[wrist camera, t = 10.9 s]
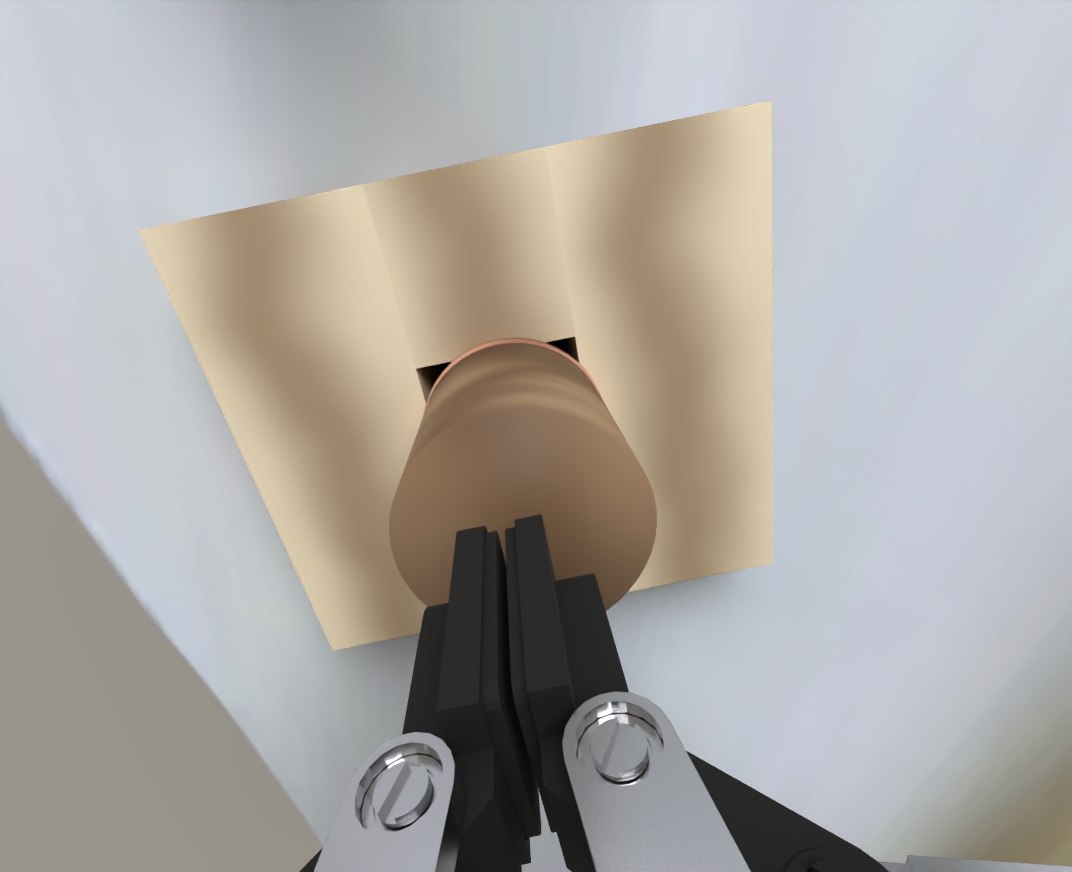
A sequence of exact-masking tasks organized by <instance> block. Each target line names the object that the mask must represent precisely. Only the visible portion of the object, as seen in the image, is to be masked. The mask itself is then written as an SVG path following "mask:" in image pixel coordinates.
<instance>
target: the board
mask: <svg viewBox="0 0 1072 872" xmlns="http://www.w3.org/2000/svg"><path fill="white" fill-rule="evenodd" d="M138 231H139V233H140V235H141V237H142V239H143V242H144V244H145V246H146V248H147V250H148V252H149V255H150V257H151V259H152V261H153V263H154V265H155V267H156V270H157V272H158V274H159V276H160V278H161V280H162V283H163V285H164V287H165V289H166V291H167V293H168V296H169V298H170V300H171V302H172V304H173V306H174V309H175V311H176V313H177V315H178V317H179V319H180V321H181V324H182V326H183V328H184V330H185V332H186V334H187V337H188V339H189V341H190V343H191V345H192V347H193V350H194V352H195V354H196V356H197V358H198V360H199V362H200V365H201V367H202V369H203V371H204V373H205V375H206V378H207V380H208V382H209V384H210V386H211V388H212V391H213V393H214V395H215V397H216V399H217V401H218V404H219V406H220V408H221V410H222V412H223V414H224V416H225V419H226V421H227V423H228V425H229V427H230V429H231V432H232V434H233V436H234V438H235V440H236V442H237V445H238V447H239V449H240V451H241V453H242V455H243V458H244V460H245V462H246V464H247V466H248V468H249V470H250V473H251V475H252V477H253V479H254V481H255V483H256V486H257V488H258V490H259V492H260V494H261V496H262V499H263V501H264V503H265V505H266V507H267V509H268V512H269V514H270V516H271V518H272V520H273V522H274V524H275V527H276V529H277V531H278V533H279V535H280V537H281V540H282V542H283V544H284V546H285V548H286V550H287V553H288V555H289V557H290V559H291V561H292V563H293V565H294V568H295V570H296V572H297V574H298V576H299V578H300V581H301V583H302V585H303V587H304V589H305V591H306V594H307V596H308V598H309V600H310V602H311V604H312V607H313V609H314V611H315V613H316V615H317V617H318V619H319V622H320V624H321V626H322V628H323V630H324V632H325V635H326V637H327V639H328V641H329V643H330V645H331V648H332V650H338V649H343V648H348V647H353V646H358V645H363V644H368V643H373V642H378V641H383V640H388V639H394V638H399V637H404V636H409V635H414V634H419V633H420V630H421V625H422V619H423V614H424V611H425V609H426V608H427V606H426V605H425V604H424V603H423V602H421V601H420V600H419V599H418V598H417V597H416V595H415V594H414V593H413V592H412V591H411V590H410V588H409V587H408V585H407V584H406V582H405V581H404V579H403V578H402V576H401V574H400V572H399V570H398V568H397V566H396V563H395V561H394V557H393V554H392V550H391V546H390V538H389V517H390V512H391V507H392V501H393V499H394V496H395V493H396V490H397V488H398V485H399V482H400V479H401V477H402V474H403V471H404V468H405V465H406V463H407V460H408V457H409V454H410V452H411V449H412V446H413V443H414V441H415V438H416V435H417V432H418V430H419V427H420V424H421V421H422V418H423V415H424V410H425V405H426V403H427V400H428V397H429V395H430V392H431V389H432V388H433V386H434V384H435V382H436V380H437V379H438V376H437V372H436V368H435V365H436V364H441V363H446V362H451V361H453V360H455V359H456V358H457V357H458V356H460V355H461V354H462V353H464V352H466V351H468V350H469V349H471V348H473V347H475V346H478V345H480V344H482V343H485V342H489V341H493V340H497V339H504V338H527V339H534V340H538V341H542V342H550V341H555V340H560V339H565V338H566V343H567V349H568V354H569V355H570V356H572V357H573V358H574V359H576V360H577V361H578V362H579V363H580V364H581V365H582V366H583V367H584V368H585V370H586V371H587V372H588V374H589V375H590V376H591V378H592V379H593V381H594V383H595V385H596V386H597V388H598V390H599V392H600V394H601V397H602V400H603V401H604V403H605V405H606V406H607V408H608V410H609V412H610V413H611V415H612V417H613V418H614V420H615V422H616V424H617V425H618V427H619V429H620V430H621V432H622V434H623V436H624V437H625V439H626V441H627V443H628V444H629V446H630V448H631V449H632V451H633V453H634V455H635V456H636V458H637V460H638V461H639V463H640V465H641V467H642V468H643V470H644V472H645V474H646V476H647V478H648V480H649V482H650V485H651V488H652V491H653V493H654V498H655V503H656V509H657V529H656V537H655V542H654V545H653V549H652V553H651V555H650V557H649V560H648V562H647V564H646V566H645V568H644V570H643V571H642V573H641V575H640V576H639V578H638V580H637V581H636V582H635V583H634V585H633V586H632V587H631V588H630V590H629V591H628V592H631V591H636V590H641V589H646V588H651V587H656V586H661V585H666V584H671V583H676V582H681V581H686V580H691V579H696V578H701V577H706V576H711V575H716V574H721V573H726V572H731V571H736V570H742V569H747V568H752V567H757V566H762V565H767V564H772V563H773V379H772V100H771V101H766V102H761V103H756V104H751V105H746V106H741V107H737V108H732V109H727V110H722V111H717V112H712V113H707V114H702V115H698V116H693V117H688V118H683V119H678V120H673V121H668V122H663V123H659V124H654V125H649V126H644V127H639V128H634V129H629V130H624V131H620V132H615V133H610V134H605V135H600V136H595V137H590V138H585V139H580V140H576V141H571V142H566V143H561V144H556V145H551V146H546V147H541V148H537V149H532V150H527V151H522V152H517V153H512V154H507V155H502V156H498V157H493V158H488V159H483V160H478V161H473V162H468V163H463V164H459V165H454V166H449V167H444V168H439V169H434V170H429V171H424V172H420V173H415V174H410V175H405V176H400V177H395V178H390V179H385V180H381V181H376V182H371V183H366V184H361V185H356V186H351V187H346V188H342V189H337V190H332V191H327V192H322V193H317V194H312V195H307V196H303V197H298V198H293V199H288V200H283V201H278V202H273V203H268V204H264V205H259V206H254V207H249V208H244V209H239V210H234V211H229V212H225V213H220V214H215V215H210V216H205V217H200V218H195V219H190V220H185V221H181V222H176V223H171V224H166V225H161V226H156V227H151V228H146V229H142V230H138Z"/></svg>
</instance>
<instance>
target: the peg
mask: <svg viewBox="0 0 1072 872" xmlns="http://www.w3.org/2000/svg"><path fill="white" fill-rule="evenodd" d="M539 514H542V518H543V522H544V527H545V532H546V536H547V541H548V546H549V550H550V555H551V560H552V564H553V569H554V574H555V579H556V581H557V580H562V579H567V578H572V577H577V576H582V575H587V574H592V573H594V574H595V577H596V580H597V583H598V587H599V590H600V594H601V597H602V601H603V604H604V608H605V611H606V610H608V609H609V608H610V607H611V606H613V605H614V604H615V603H617V602H618V601H619V600H620V599H621V598H622V597H623V596H624V595H625V594H626V593H627V592H628V591H629V590H630V588H631V587H632V586H633V585H634V583H635V582H636V581H637V580H638V578H639V576H640V575H641V573H642V571H643V570H644V568H645V566H646V564H647V562H648V560H649V557H650V555H651V553H652V549H653V545H654V542H655V537H656V529H657V509H656V503H655V498H654V493H653V491H652V488H651V485H650V482H649V480H648V478H647V476H646V474H645V472H644V470H643V468H642V467H641V465H640V463H639V461H638V460H637V458H636V456H635V455H634V453H633V451H632V449H631V448H630V446H629V444H628V443H627V441H626V439H625V437H624V436H623V434H622V432H621V430H620V429H619V427H618V425H617V424H616V422H615V420H614V418H613V417H612V415H611V413H610V412H609V410H608V408H607V406H606V405H605V403H604V401H603V400H602V397H601V394H600V392H599V390H598V388H597V386H596V385H595V383H594V381H593V379H592V378H591V376H590V375H589V374H588V372H587V371H586V370H585V368H584V367H583V366H582V365H581V364H580V363H579V362H578V361H577V360H576V359H574V358H573V357H572V356H570V355H569V354H568V353H566V352H564V351H563V350H561V349H559V348H557V347H555V346H553V345H550V344H548V343H545V342H542V341H538V340H534V339H527V338H504V339H497V340H493V341H489V342H485V343H482V344H480V345H478V346H475V347H473V348H471V349H469V350H468V351H466V352H464V353H462V354H461V355H460V356H458V357H457V358H456V359H455V360H453V361H452V362H451V363H450V364H449V365H448V366H447V367H446V368H445V369H444V370H443V372H442V373H441V374H440V376H439V377H438V379H437V380H436V382H435V384H434V386H433V388H432V389H431V392H430V395H429V397H428V400H427V403H426V405H425V410H424V415H423V418H422V421H421V424H420V427H419V430H418V432H417V435H416V438H415V441H414V443H413V446H412V449H411V452H410V454H409V457H408V460H407V463H406V465H405V468H404V471H403V474H402V477H401V479H400V482H399V485H398V488H397V490H396V493H395V496H394V499H393V501H392V507H391V512H390V517H389V538H390V546H391V550H392V554H393V557H394V561H395V563H396V566H397V568H398V570H399V572H400V574H401V576H402V578H403V579H404V581H405V582H406V584H407V585H408V587H409V588H410V590H411V591H412V592H413V593H414V594H415V595H416V597H417V598H418V599H419V600H420V601H421V602H423V603H424V604H425V605H426V606H427V607H429V606H434V605H439V604H444V603H448V601H449V593H450V584H451V575H452V566H453V558H454V549H455V540H456V533H457V531H460V530H465V529H470V528H475V527H480V526H486V529H487V531H488V532H492V531H497V532H498V535H499V538H500V542H501V546H502V550H503V554H504V558H505V562H506V545H505V529H507V528H512V527H515V523H514V520H515V519H519V518H524V517H529V516H534V515H539Z"/></svg>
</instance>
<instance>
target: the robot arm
mask: <svg viewBox="0 0 1072 872" xmlns="http://www.w3.org/2000/svg"><path fill="white" fill-rule="evenodd" d="M514 523H515V527H512V528H507V529H505V545H506V562H505V558H504V554H503V550H502V546H501V542H500V538H499V535H498V532H497V531H492V532H488V531H487V529H486V526H480V527H475V528H470V529H465V530H460V531H457V533H456V540H455V549H454V558H453V566H452V575H451V584H450V593H449V601H448V603H444V604H439V605H434V606H429V607H427V608H426V609H425V611H424V614H423V619H422V625H421V630H420V636H419V642H418V648H417V653H416V659H415V665H414V670H413V676H412V682H411V688H410V693H409V699H408V705H407V711H406V716H405V722H404V728H403V734H402V735H399V736H397V737H395V738H393V739H391V740H389V741H387V742H385V743H383V744H382V745H380V746H379V747H378V748H377V749H375V750H374V751H373V752H372V753H370V754H369V755H368V756H367V757H366V759H365V760H364V761H363V762H362V763H361V765H360V766H359V767H358V768H357V769H356V771H355V773H354V775H353V776H352V778H351V780H350V782H349V784H348V786H347V788H346V790H345V793H344V796H343V798H342V801H341V803H340V806H339V808H338V811H337V814H336V816H335V819H334V821H333V824H332V826H331V829H330V831H329V834H328V837H327V839H326V842H325V844H324V847H323V848H322V849H321V850H320V851H319V852H318V853H317V854H316V855H315V856H314V857H313V858H312V859H311V860H310V862H308V863H307V864H306V866H305V867H304V868H303V869H302V870H301V871H300V872H522V868H521V865H523V864H527V863H531V855H530V838H529V837H533V836H538V835H541V818H540V805H539V793H538V788H539V792H540V795H541V799H542V802H543V806H544V809H545V812H546V816H547V819H548V823H549V826H550V830H551V832H552V833H553V832H557V835H558V838H559V842H560V845H561V849H562V853H563V856H564V860H565V863H566V867H567V868H568V869H569V870H570V871H571V872H1072V867H1068V866H1054V865H1040V864H1026V863H1012V862H998V861H984V860H970V859H956V858H942V857H928V856H914V855H907V860H906V864H902V863H889V862H877V861H876V860H875V859H873V858H872V857H870V856H869V855H868V854H866V853H865V852H863V851H862V850H861V849H859V848H857V847H856V846H854V845H852V844H850V843H849V842H847V841H845V840H843V839H842V838H840V837H838V836H836V835H834V834H833V833H831V832H829V831H827V830H826V829H824V828H822V827H820V826H818V825H817V824H815V823H813V822H811V821H810V820H808V819H806V818H804V817H803V816H801V815H799V814H797V813H795V812H794V811H792V810H790V809H788V808H787V807H785V806H783V805H781V804H780V803H778V802H776V801H774V800H772V799H771V798H769V797H767V796H765V795H764V794H762V793H760V792H758V791H757V790H755V789H753V788H751V787H749V786H748V785H746V784H744V783H742V782H741V781H739V780H737V779H735V778H733V777H732V776H730V775H728V774H726V773H725V772H723V771H721V770H719V769H718V768H716V767H714V766H712V765H710V764H709V763H707V762H705V761H703V760H702V759H700V758H698V757H696V756H695V755H693V754H691V753H689V752H687V751H686V750H685V748H684V746H683V744H682V742H681V741H680V739H679V737H678V735H677V733H676V731H675V729H674V728H673V726H672V724H671V722H670V721H669V719H668V718H667V717H666V715H665V714H664V713H663V711H662V710H661V709H660V708H659V707H658V706H656V705H655V704H654V703H652V702H651V701H650V700H648V699H647V698H644V697H641V696H639V695H636V694H633V693H629V691H628V687H627V684H626V680H625V677H624V673H623V670H622V667H621V663H620V660H619V656H618V653H617V649H616V646H615V642H614V639H613V635H612V632H611V628H610V625H609V621H608V618H607V614H606V611H605V608H604V604H603V601H602V597H601V594H600V590H599V587H598V583H597V580H596V577H595V574H594V573H592V574H587V575H582V576H577V577H572V578H567V579H562V580H557V581H556V579H555V574H554V569H553V564H552V560H551V555H550V550H549V546H548V541H547V536H546V532H545V527H544V522H543V518H542V514H539V515H534V516H529V517H524V518H519V519H515V520H514Z"/></svg>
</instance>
